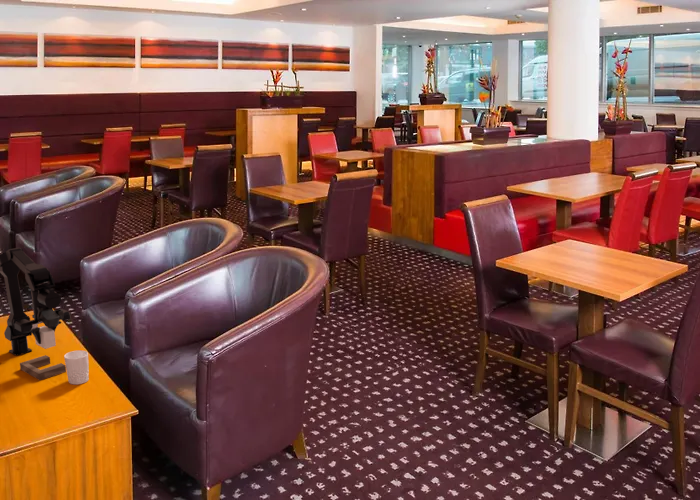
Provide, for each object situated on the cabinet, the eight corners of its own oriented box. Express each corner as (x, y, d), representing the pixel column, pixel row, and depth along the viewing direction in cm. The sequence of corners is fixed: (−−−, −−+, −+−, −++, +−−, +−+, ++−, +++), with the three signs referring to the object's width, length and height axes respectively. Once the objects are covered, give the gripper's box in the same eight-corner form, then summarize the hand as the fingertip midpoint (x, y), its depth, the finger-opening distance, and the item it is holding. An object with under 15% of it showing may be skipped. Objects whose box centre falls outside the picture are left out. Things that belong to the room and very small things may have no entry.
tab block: (35, 344, 267) (34, 328, 266) (46, 340, 270) (44, 325, 269) (45, 348, 263) (43, 333, 261) (55, 345, 266) (54, 330, 264)
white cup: (75, 387, 254) (72, 360, 251) (62, 381, 258) (59, 355, 256) (95, 379, 260) (92, 353, 257) (82, 374, 265) (79, 348, 262)
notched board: (20, 369, 268) (19, 363, 268) (46, 361, 276) (45, 355, 275) (39, 380, 259) (38, 373, 259) (66, 371, 267) (65, 365, 266)
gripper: (26, 313, 251) (31, 355, 255) (76, 300, 264) (80, 340, 268) (11, 306, 258) (16, 347, 262) (60, 294, 271) (65, 333, 275)
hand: (45, 342), depth 266 cm, fingers closed on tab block, 4 cm apart
